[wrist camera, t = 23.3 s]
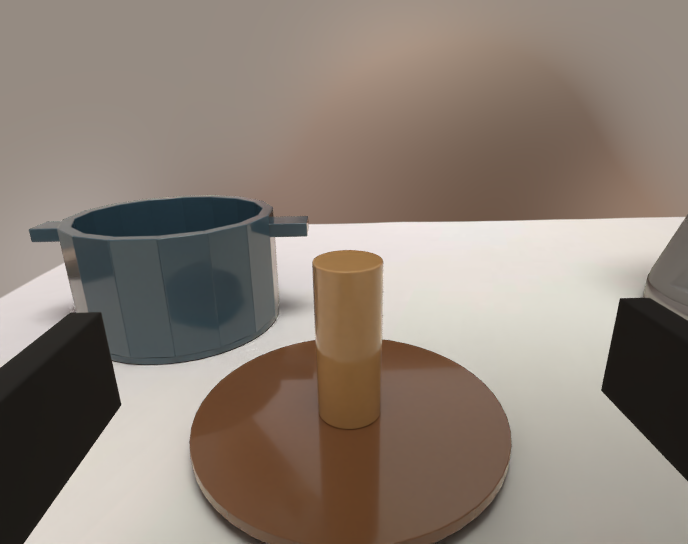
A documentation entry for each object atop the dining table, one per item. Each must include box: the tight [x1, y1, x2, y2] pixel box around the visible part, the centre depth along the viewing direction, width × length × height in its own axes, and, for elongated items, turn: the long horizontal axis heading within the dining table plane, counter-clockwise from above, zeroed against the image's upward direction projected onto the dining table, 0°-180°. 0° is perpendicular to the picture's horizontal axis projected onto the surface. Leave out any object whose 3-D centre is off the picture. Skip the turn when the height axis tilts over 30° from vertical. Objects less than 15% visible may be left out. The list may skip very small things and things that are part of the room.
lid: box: [189, 250, 511, 544], centre depth 22 cm, size 16×16×9 cm
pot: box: [29, 195, 309, 364], centre depth 35 cm, size 15×20×8 cm
